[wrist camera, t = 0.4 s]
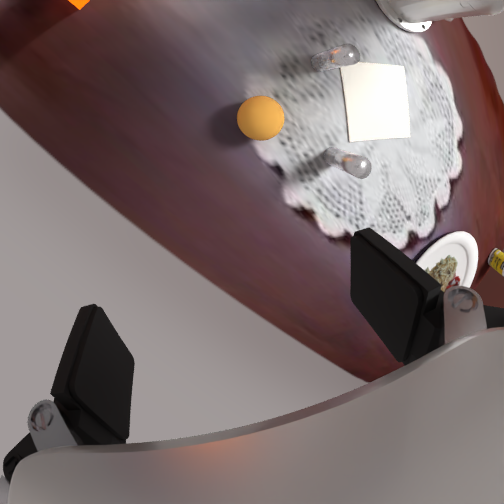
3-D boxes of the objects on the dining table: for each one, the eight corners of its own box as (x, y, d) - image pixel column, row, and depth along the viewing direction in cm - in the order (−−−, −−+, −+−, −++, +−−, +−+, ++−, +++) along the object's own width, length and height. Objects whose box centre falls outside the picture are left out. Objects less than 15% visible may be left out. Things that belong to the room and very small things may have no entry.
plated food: (402, 237, 47) (413, 246, 44) (483, 221, 51) (493, 227, 48) (375, 348, 61) (381, 358, 59) (453, 315, 66) (460, 322, 63)
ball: (273, 94, 32) (286, 91, 27) (279, 134, 34) (293, 138, 30) (230, 100, 31) (237, 98, 26) (238, 142, 34) (245, 146, 29)
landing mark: (402, 66, 32) (403, 66, 32) (409, 137, 38) (410, 137, 37) (339, 61, 31) (339, 61, 30) (349, 141, 36) (349, 141, 36)
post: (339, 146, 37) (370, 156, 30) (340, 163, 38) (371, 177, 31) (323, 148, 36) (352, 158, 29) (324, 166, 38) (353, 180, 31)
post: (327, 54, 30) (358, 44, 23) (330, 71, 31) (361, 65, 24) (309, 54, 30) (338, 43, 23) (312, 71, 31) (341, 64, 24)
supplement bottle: (489, 250, 56) (513, 267, 48) (498, 245, 57) (521, 261, 48) (485, 266, 59) (507, 284, 51) (494, 261, 60) (516, 278, 51)
